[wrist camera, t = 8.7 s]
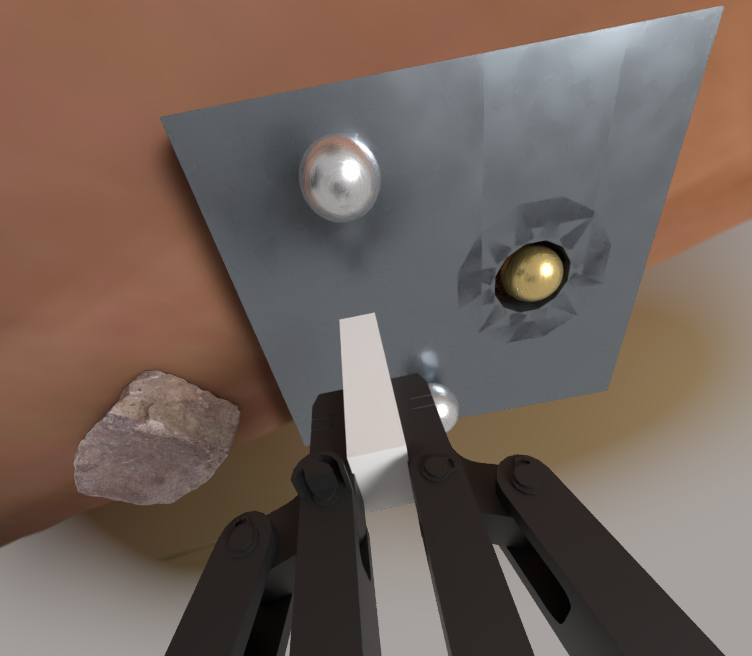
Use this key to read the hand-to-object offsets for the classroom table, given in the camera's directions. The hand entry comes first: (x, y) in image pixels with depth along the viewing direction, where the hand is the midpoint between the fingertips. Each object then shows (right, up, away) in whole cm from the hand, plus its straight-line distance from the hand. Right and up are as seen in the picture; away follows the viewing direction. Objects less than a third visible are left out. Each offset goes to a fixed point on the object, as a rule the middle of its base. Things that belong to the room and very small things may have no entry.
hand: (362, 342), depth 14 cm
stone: (-16, -7, +13) cm, 22 cm away
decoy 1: (-1, +7, 0) cm, 7 cm away
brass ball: (+10, +4, +6) cm, 12 cm away
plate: (+5, +4, +7) cm, 10 cm away
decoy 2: (+4, -5, +8) cm, 10 cm away
